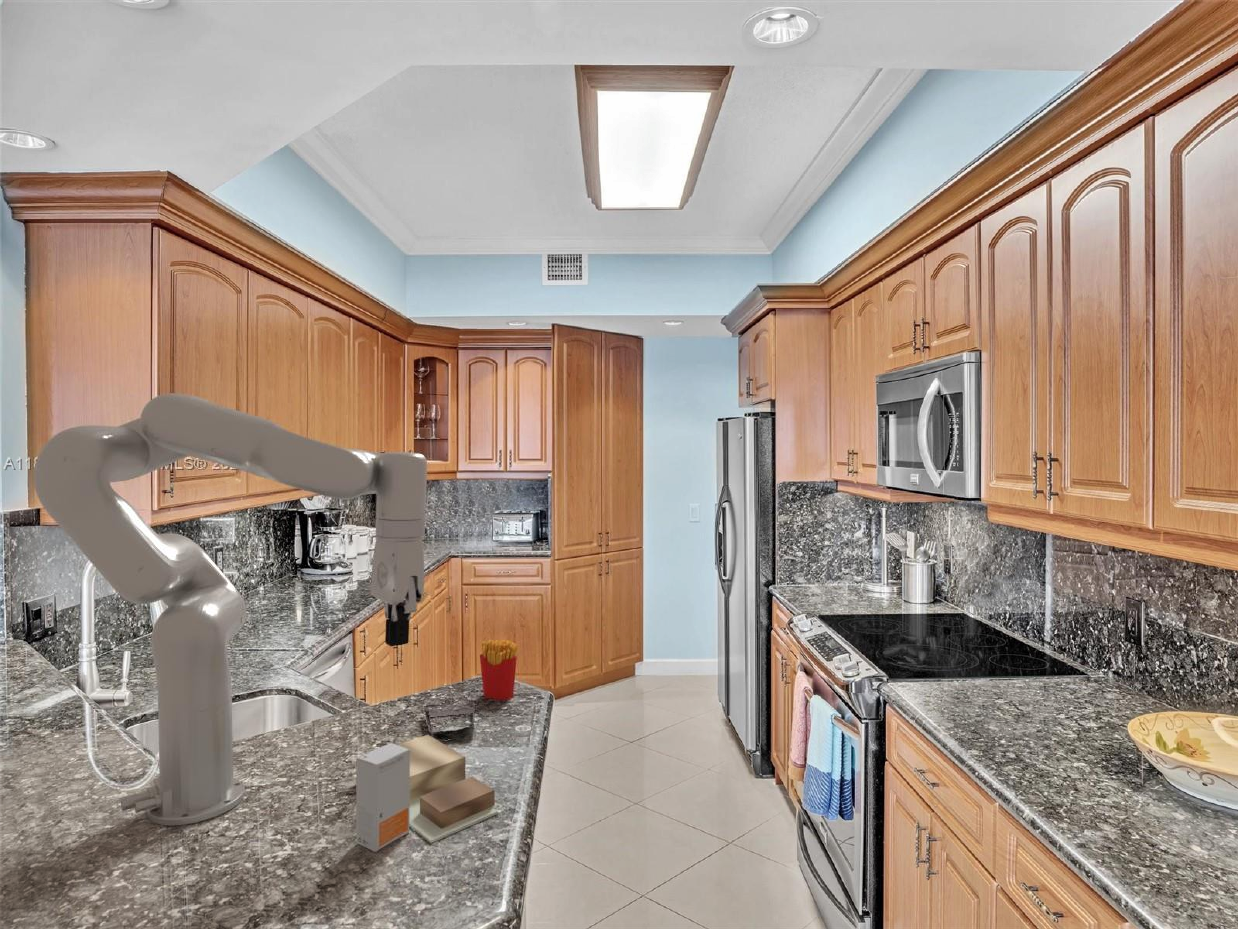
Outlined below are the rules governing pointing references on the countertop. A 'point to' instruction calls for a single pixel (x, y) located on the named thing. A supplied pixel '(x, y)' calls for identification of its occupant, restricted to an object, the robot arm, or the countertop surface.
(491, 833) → the countertop surface
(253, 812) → the countertop surface
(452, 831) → the mat
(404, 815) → the skincare box
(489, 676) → the french fries
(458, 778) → the platform
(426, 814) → the walnut block
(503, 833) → the countertop surface
